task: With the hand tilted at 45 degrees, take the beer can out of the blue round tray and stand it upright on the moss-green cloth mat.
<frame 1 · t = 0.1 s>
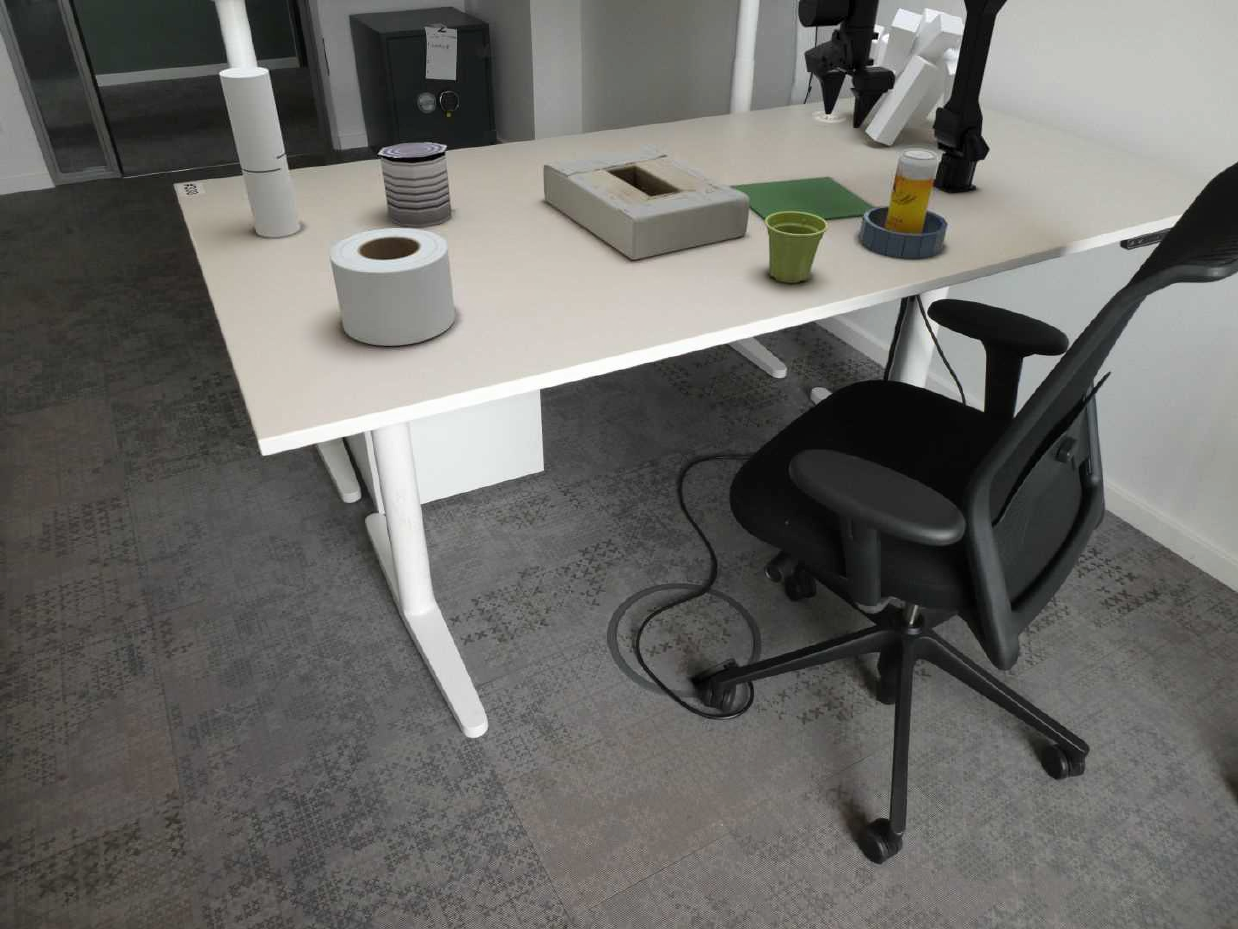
hand: (841, 120, 156), 15 cm above the table, tool pointing down, fingers open, 9 cm apart
tape roll: (399, 321, 124), on the table
pile of blocks: (895, 133, 203), on the table
cylindrical container: (278, 230, 150), on the table
green cloth: (801, 200, 165), on the table
blue round tray: (900, 242, 150), on the table
beer can: (900, 243, 150), resting in blue round tray
can: (420, 216, 156), on the table
plant pot: (788, 276, 138), on the table
box: (641, 218, 157), on the table
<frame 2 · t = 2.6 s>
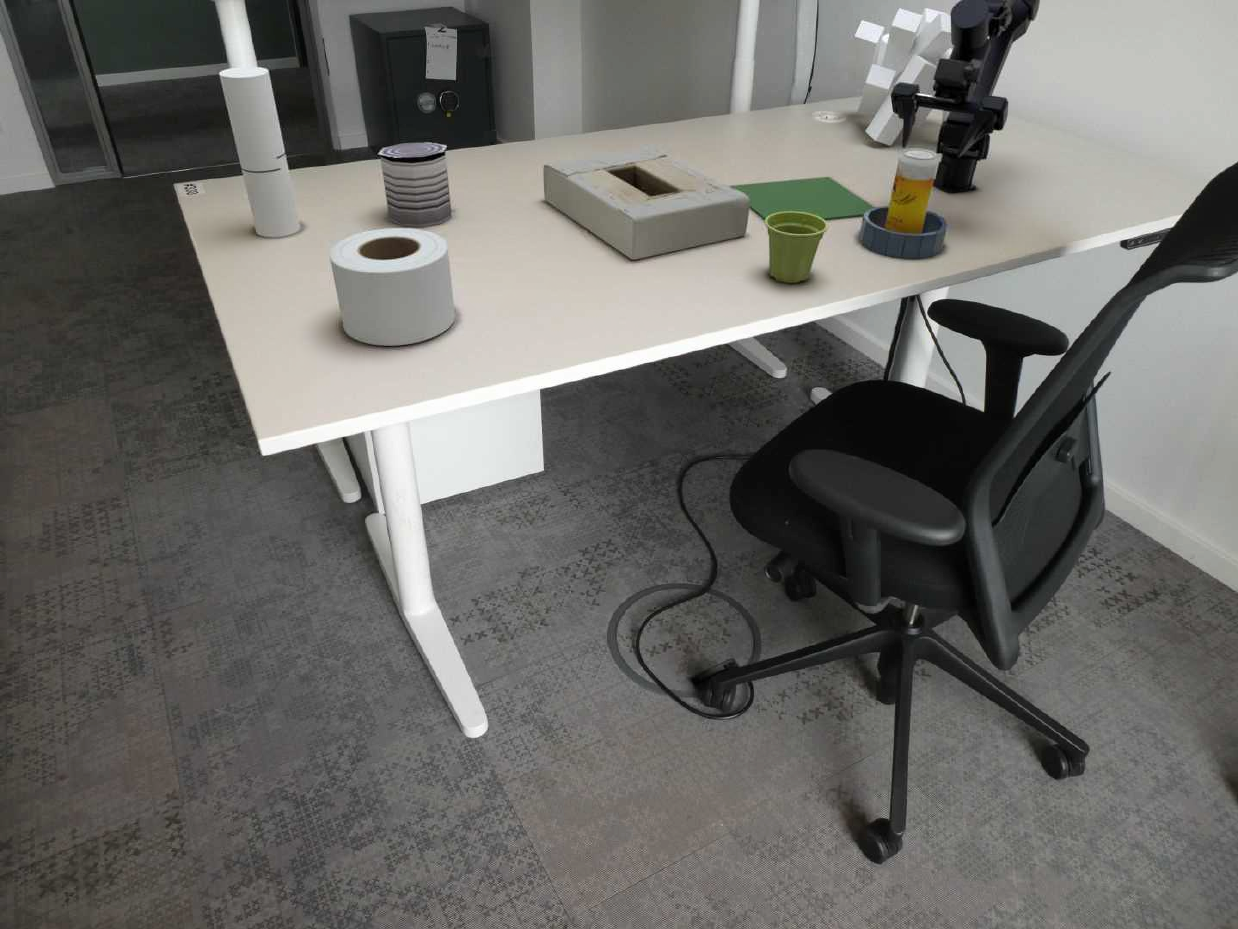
hand: (930, 151, 147), 13 cm above the table, tool tilted 45°, fingers open, 9 cm apart
nothing on the table moved.
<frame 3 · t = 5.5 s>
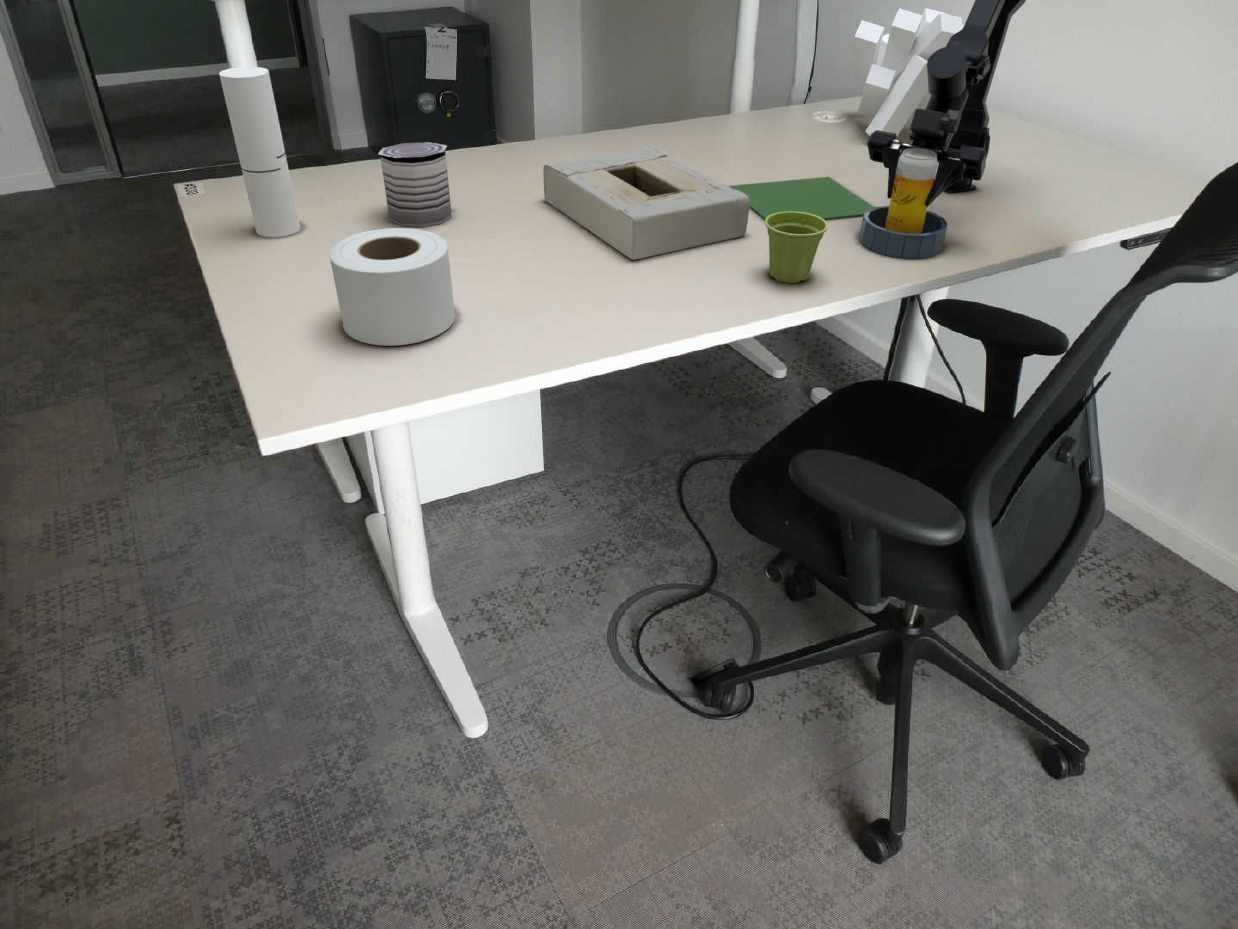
hand: (907, 201, 144), 8 cm above the table, tool tilted 45°, fingers closed on beer can, 6 cm apart
beer can: (900, 243, 150), resting in blue round tray, touching gripper
everything else where it was.
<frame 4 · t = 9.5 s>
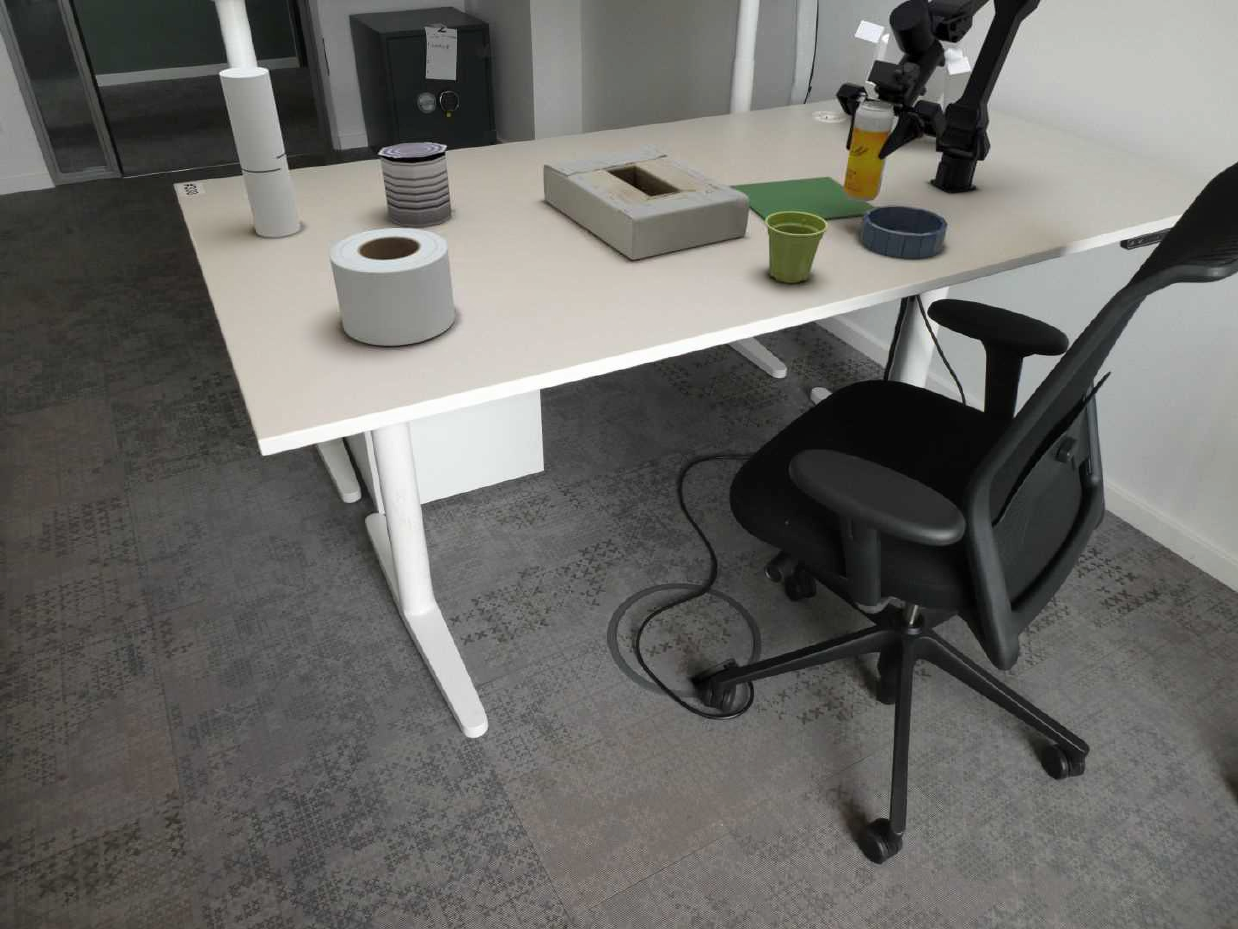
hand: (863, 153, 146), 13 cm above the table, tool tilted 45°, fingers closed on beer can, 6 cm apart
beer can: (860, 197, 151), point 5 cm above the table, touching gripper
everything else where it was.
when the fingers open (8 cm above the table, at t = 13.9 s): beer can stays where it is, resting on green cloth.
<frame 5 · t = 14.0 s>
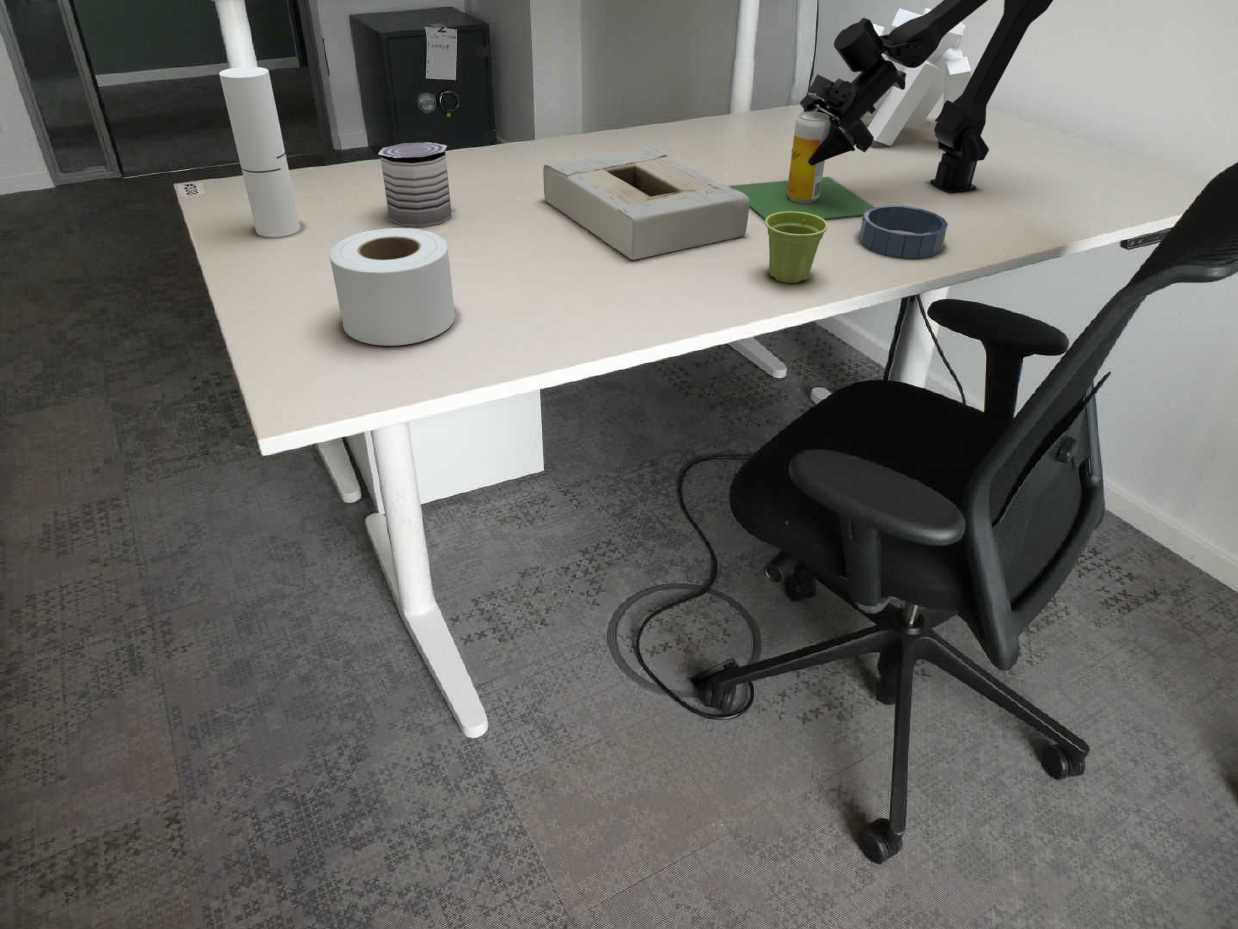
hand: (801, 158, 160), 8 cm above the table, tool tilted 45°, fingers open, 6 cm apart
beer can: (802, 199, 165), resting on green cloth
everything else where it was.
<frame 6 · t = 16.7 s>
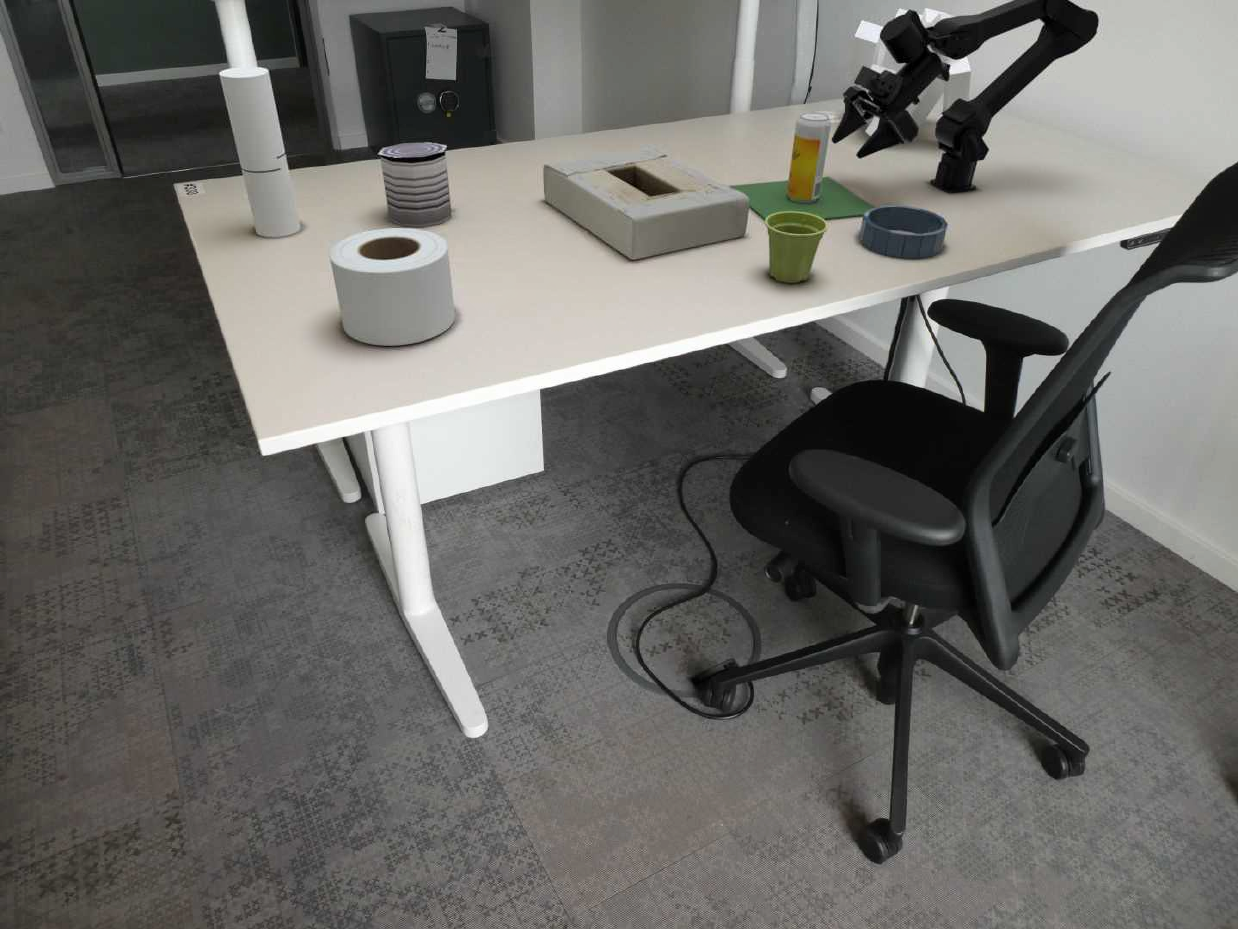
hand: (845, 149, 162), 9 cm above the table, tool tilted 45°, fingers open, 9 cm apart
nothing on the table moved.
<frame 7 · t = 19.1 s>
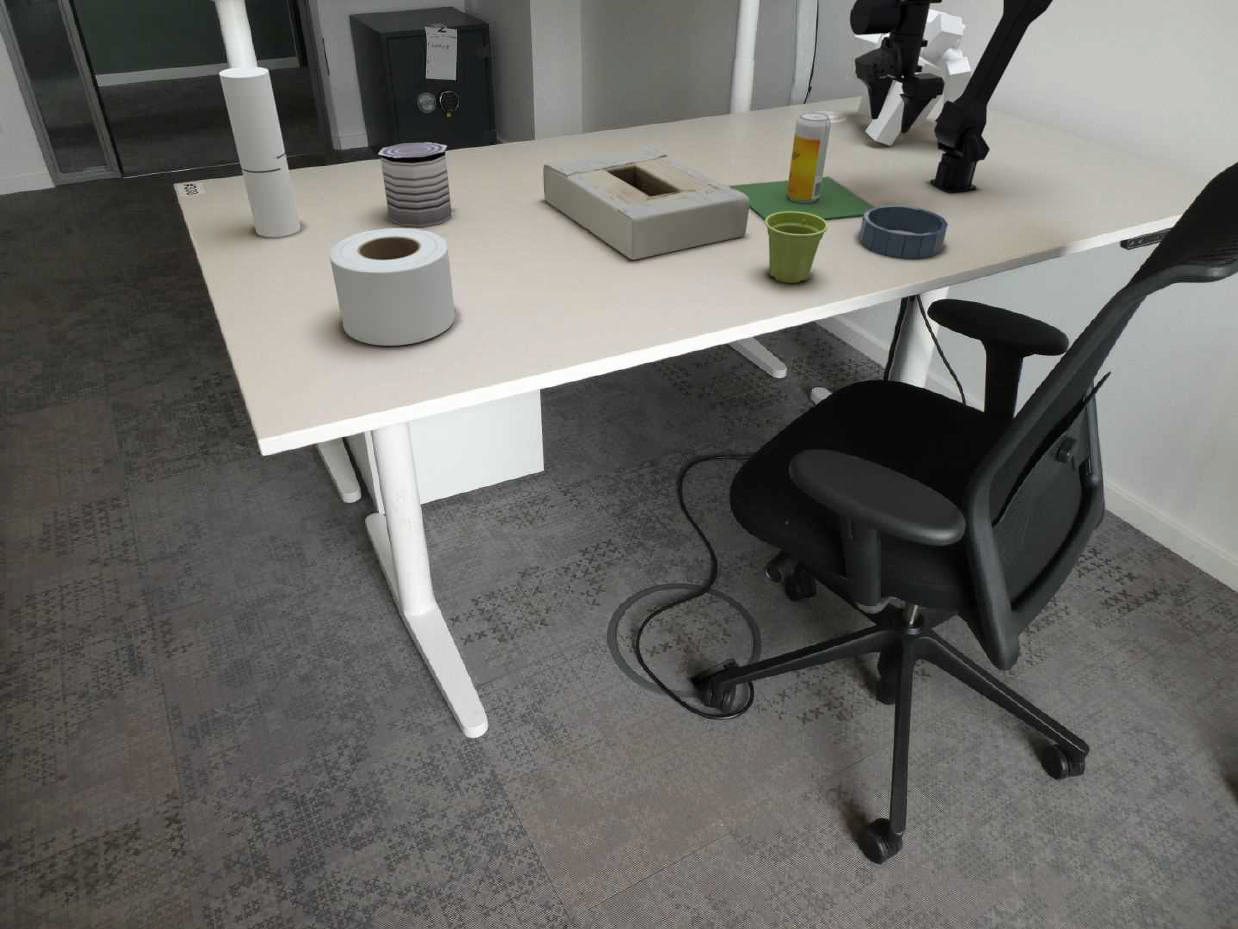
hand: (888, 125, 160), 13 cm above the table, tool pointing down, fingers open, 9 cm apart
nothing on the table moved.
at the end: beer can inside the target area (0.2 cm from its centre), resting on green cloth; beer can tilted 0°; the gripper is holding nothing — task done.
